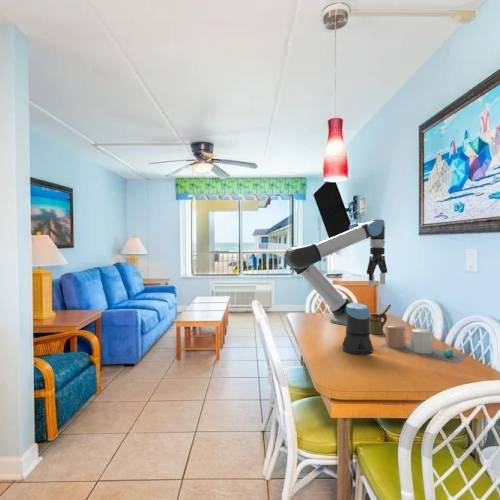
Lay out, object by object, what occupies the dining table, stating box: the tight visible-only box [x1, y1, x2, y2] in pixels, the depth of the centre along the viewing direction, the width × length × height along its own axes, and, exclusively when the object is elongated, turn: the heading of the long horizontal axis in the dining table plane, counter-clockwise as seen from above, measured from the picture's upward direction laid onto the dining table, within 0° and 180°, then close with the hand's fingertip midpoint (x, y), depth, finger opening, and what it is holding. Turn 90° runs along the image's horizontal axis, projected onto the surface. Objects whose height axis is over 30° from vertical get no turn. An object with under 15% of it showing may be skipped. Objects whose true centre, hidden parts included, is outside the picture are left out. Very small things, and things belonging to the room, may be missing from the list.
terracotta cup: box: [385, 323, 407, 348], centre depth 180 cm, size 9×9×10 cm
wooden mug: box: [369, 304, 392, 335], centre depth 211 cm, size 9×14×18 cm, turn 75°
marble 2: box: [445, 348, 454, 355], centre depth 163 cm, size 3×3×3 cm
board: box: [379, 342, 468, 364], centre depth 171 cm, size 16×36×2 cm, turn 44°
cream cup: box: [410, 327, 434, 353], centre depth 171 cm, size 9×9×10 cm
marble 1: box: [443, 350, 451, 357], centre depth 161 cm, size 3×3×3 cm
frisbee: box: [330, 316, 346, 326], centre depth 239 cm, size 20×27×3 cm
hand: (377, 285), depth 191 cm, fingers open, 13 cm apart
